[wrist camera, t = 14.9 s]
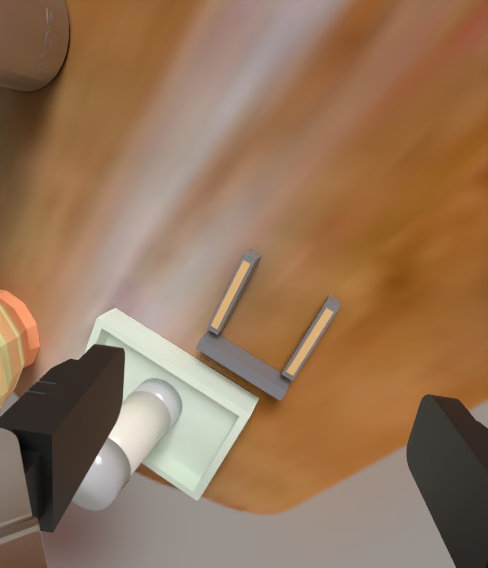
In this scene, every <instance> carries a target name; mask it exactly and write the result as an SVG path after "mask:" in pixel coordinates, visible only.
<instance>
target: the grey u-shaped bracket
mask: <svg viewBox="0 0 488 568" xmlns="http://www.w3.org/2000/svg"><path fill="white" fill-rule="evenodd" d="M260 258H261V255H259V254H258V253H256V252H254V251H252V250H251V249H250V250H248V251H247V252H245V253H244V255H243V257H242V259H241V261H240V263H239V265H238V267H237V269H236V271H235V273H234V275H233V277H232V279H231V281H230V283H229V285H228V287H227V289H226V291H225V293H224V295H223V297H222V299H221V301H220V303H219V305H218V307H217V309H216V311H215V313H214V315H213V317H212V319H211V321H210V323H209V325H208V327H207V329H209V331H208V332H207V333H206V334H205V335H204V336H203V337H202V338H201V339H200V341H199V343H198V345H197V347H196V349H197V350H199V351H201V352H202V353H204V354H205V355H207V356H209V357H210V358H212V359H213V360H215V361H217V362H218V363H220V364H221V365H223V366H225V367H226V368H228V369H229V370H231V371H233V372H234V373H236V374H237V375H239V376H241V377H242V378H244V379H245V380H247V381H249V382H250V383H252V384H254V385H255V386H257V387H258V388H260V389H262V390H263V391H265V392H266V393H268V394H270V395H271V396H273V397H274V398H276V399H278V400H279V401H281V400H282V398H283V397H284V395H285V394H286V392H287V390H288V387H289V384H290V382H291V380H292V381H293V380H294V378H295V377H296V375H297V374H298V372H299V371H300V369H301V367H302V366H303V364H304V363H305V361H306V360H307V358H308V357H309V355H310V353H311V352H312V350H313V349H314V347H315V346H316V344H317V343H318V341H319V339H320V338H321V336H322V335H323V333H324V332H325V330H326V329H327V327H328V325H329V324H330V322H331V321H332V319H333V318H334V316H335V315H336V313H337V311H338V310H339V308H340V305H341V301H340V300H338V299H337V298H335V297H333V296H331V295H330V294H329V296H328V297H327V299H326V301H325V302H324V304H323V305H322V307H321V309H320V310H319V312H318V313H317V315H316V317H315V318H314V320H313V322H312V323H311V325H310V326H309V328H308V330H307V331H306V333H305V334H304V336H303V338H302V339H301V341H300V342H299V344H298V346H297V347H296V349H295V351H294V352H293V354H292V355H291V357H290V359H289V360H288V362H287V363H286V365H285V367H284V369H283V372H282V373H280V372H279V371H277V370H276V369H274V368H272V367H271V366H269V365H267V364H266V363H264V362H262V361H261V360H259V359H258V358H256V357H254V356H253V355H251V354H249V353H248V352H246V351H245V350H243V349H241V348H240V347H238V346H236V345H235V344H233V343H231V342H230V341H228V340H227V339H225V338H223V337H222V336H220V335H218V334H219V333H220V332H221V331H222V330H223V329H224V328H225V326H226V324H227V322H228V320H229V318H230V316H231V314H232V312H233V310H234V308H235V306H236V304H237V302H238V300H239V298H240V297H241V295H242V293H243V291H244V289H245V287H246V285H247V283H248V281H249V279H250V277H251V275H252V273H253V271H254V269H255V268H256V266H257V264H258V262H259V260H260Z"/></svg>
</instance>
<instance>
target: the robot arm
mask: <svg viewBox="0 0 488 568" xmlns="http://www.w3.org/2000/svg"><path fill="white" fill-rule="evenodd" d="M68 41H69V20H68V13H67V7H66V4H65V1H64V0H0V86H1V87H5V88H9V89H14V90H18V91H34V90H37V89H40V88H42V87H44V86H45V85H47V84H48V83H49V82H50V81H51V80H52V79H53V78H54V77H55V76H56V75H57V73H58V71H59V70H60V68H61V66H62V64H63V61H64V59H65V56H66V53H67V47H68ZM124 368H125V351H124V348H121V347H114V346H108V345H101V344H94V345H92V346H91V348H90V349H89V350H88V351H87V352H86V353H85V354H84V355H83V356H82V357H81V358H80V359H79V360H74V359H69V360H67V361H65V362H63V363H61V364H59V365H57V366H55V367H52V368H51V369H50V370H49V371H48V372H47V373H46V374H45V375H44V376H43V377H42V378H41V379H40V381H39V382H36V383H35V384H34V385H33V386H32V387H31V388H30V389H29V392H26V393H25V394H24V395H23V396H22V397H21V398H20V399H19V400H18V401H17V402H16V403H14V404H13V405H12V406H11V407H10V408H9V409H8V410H7V411H6V412H5V413H4V414H3V415H2V416H1V417H0V568H47V562H46V557H45V552H44V547H43V542H42V537H41V532H40V531H46V532H52V533H53V532H54V530H55V528H56V526H57V525H58V523H59V521H60V520H61V518H62V516H63V514H64V513H65V511H66V509H67V507H68V506H69V504H70V502H71V500H72V499H73V497H74V495H75V494H76V492H77V490H78V488H79V487H80V485H81V483H82V481H83V480H84V478H85V476H86V474H87V473H88V471H89V469H90V468H91V466H92V464H93V462H94V461H95V459H96V457H97V455H98V454H99V452H100V450H101V448H102V447H103V445H104V443H105V442H106V440H107V438H108V436H109V435H110V433H111V431H112V429H113V428H114V426H115V424H116V422H117V420H118V418H119V415H120V411H121V407H122V402H123V387H124ZM407 462H408V466H409V469H410V471H411V473H412V475H413V477H414V479H415V482H416V484H417V486H418V488H419V490H420V492H421V494H422V496H423V499H424V501H425V503H426V505H427V507H428V509H429V511H430V513H431V515H432V518H433V520H434V522H435V524H436V526H437V528H438V530H439V532H440V534H441V537H442V539H443V541H444V543H445V545H446V547H447V549H448V551H449V553H450V556H451V558H452V559H453V562H454V564H455V566H456V568H488V428H486V427H485V426H484V425H482V424H481V423H480V422H478V421H476V420H475V419H474V417H473V416H472V415H471V414H470V412H469V411H468V410H467V409H466V408H465V406H464V405H463V404H462V403H461V402H460V401H459V400H458V399H455V398H448V397H442V396H435V395H425V396H424V397H423V398H422V400H421V403H420V406H419V409H418V412H417V415H416V418H415V421H414V425H413V428H412V431H411V434H410V437H409V440H408V444H407Z"/></svg>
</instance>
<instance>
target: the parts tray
mask: <svg viewBox="0 0 488 568" xmlns="http://www.w3.org/2000/svg"><path fill="white" fill-rule="evenodd" d="M94 344H101V345H108V346H114V347H121V348H124V351H125V368H124V387H123V401H124V400H125V399H126V398H127V396H128V395H129V394H130V393H131V392H132V391H133V390H134V389H136V388H137V387H138V386H139V385H140V384H141V383H142V382H143V381H145V380H147V379H150V378H157V379H161V380H164V381H166V382H168V383H169V384H171V385H172V386H173V387H174V388H175V389H176V391H177V392H178V394H179V395H180V398H181V401H182V413H181V415H180V417H179V418H178V420H177V421H176V422H175V423H174V425H173V426H172V427H171V428H170V430H169V431H168V432H167V433H166V434H165V435H163V436H162V438H161V439H160V440H159V441H158V443H157V444H156V445H155V446H154V448H153V449H152V450H151V451H150V453H149V454H148V455H147V456H146V458H145V459H144V460H143V461H142V464H144V465H145V466H147V467H148V468H149V469H151V470H152V471H154V472H155V473H157V474H158V475H160V476H161V477H163V478H164V479H165V480H167V481H168V482H170V483H171V484H173V485H174V486H176V487H177V488H179V489H180V490H181V491H183V492H184V493H186V494H187V495H189V496H190V497H192V498H193V499H195V500H196V501H198V500H199V499H200V497H201V495H202V494H203V492H204V491H205V489H206V487H207V486H208V484H209V482H210V481H211V479H212V478H213V476H214V474H215V473H216V471H217V469H218V468H219V466H220V465H221V463H222V461H223V460H224V458H225V456H226V455H227V453H228V452H229V450H230V448H231V447H232V445H233V443H234V442H235V440H236V439H237V437H238V435H239V434H240V432H241V430H242V429H243V427H244V426H245V424H246V422H247V421H248V419H249V417H250V416H251V414H252V412H253V410H254V408H255V406H256V404H257V402H258V400H259V398H258V397H256V396H255V395H253V394H252V393H250V392H248V391H247V390H245V389H244V388H242V387H241V386H239V385H237V384H236V383H234V382H233V381H231V380H229V379H228V378H226V377H225V376H223V375H221V374H220V373H218V372H217V371H215V370H213V369H212V368H210V367H209V366H207V365H206V364H204V363H202V362H201V361H199V360H198V359H196V358H194V357H193V356H191V355H190V354H188V353H186V352H185V351H183V350H182V349H180V348H178V347H177V346H175V345H174V344H172V343H170V342H169V341H167V340H166V339H164V338H163V337H161V336H159V335H158V334H156V333H155V332H153V331H151V330H150V329H148V328H147V327H145V326H143V325H142V324H140V323H139V322H137V321H135V320H134V319H132V318H131V317H129V316H127V315H126V314H124V313H123V312H121V311H120V310H118V309H116V308H114V309H112V310H110V311H108V312H106V313H104V314H103V315H101V316H99V317H97V319H96V322H95V325H94V328H93V331H92V333H91V336H90V339H89V342H88V345H87V347H86V350H85V353H86V352H87V351H88V350H89V349H90V348H91V346H92V345H94ZM85 353H84V354H85Z"/></svg>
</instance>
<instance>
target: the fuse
mask: <svg viewBox="0 0 488 568" xmlns="http://www.w3.org/2000/svg"><path fill="white" fill-rule="evenodd" d="M181 413H182V401H181V398H180V395H179V394H178V392H177V391H176V389H175V388H174V387H173V386H172V385H171V384H169V383H168V382H166V381H164V380H161V379H157V378H150V379H147V380H145V381H143V382H142V383H141V384H140V385H139V386H138V387H137V388H136V389H134V390H133V391H132V392H131V393H130V394H129V395H128V396H127V398H126V399H125V400H124V401H123V402H122V407H121V411H120V415H119V418H118V420H117V422H116V424H115V426H114V428H113V429H112V431H111V433H110V435H109V436H108V438H107V440H106V442H105V443H104V445H103V447H102V448H101V450H100V452H99V454H98V455H97V457H96V459H95V461H94V462H93V464H92V466H91V468H90V469H89V471H88V473H87V474H86V476H85V478H84V480H83V481H82V483H81V485H80V487H79V488H78V490H77V492H76V494H75V495H74V497H73V499H72V501H73V502H74V503H76V504H77V505H79V506H81V507H83V508H85V509H88V510H92V511H99V510H103V509H105V508H107V507H108V506H109V505H110V504H111V503H112V501H113V500H114V499H115V498H116V496H117V495H118V494H119V492H120V491H121V490H122V489H123V488H124V486H125V485H126V484H127V482H128V481H129V479H130V477H131V475H132V474H133V473H134V472H135V470H136V469H137V468H138V467H139V465H140V464H141V463H142V461H143V460H144V459H145V458H146V456H147V455H148V454H149V453H150V451H151V450H152V449H153V448H154V446H155V445H156V444H157V443H158V441H159V440H160V439H161V438H162V436H163V435H165V434H166V433H167V432H168V431H169V430H170V428H171V427H172V426H173V425H174V423H175V422H176V421H177V420H178V418H179V417H180V415H181Z"/></svg>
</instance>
